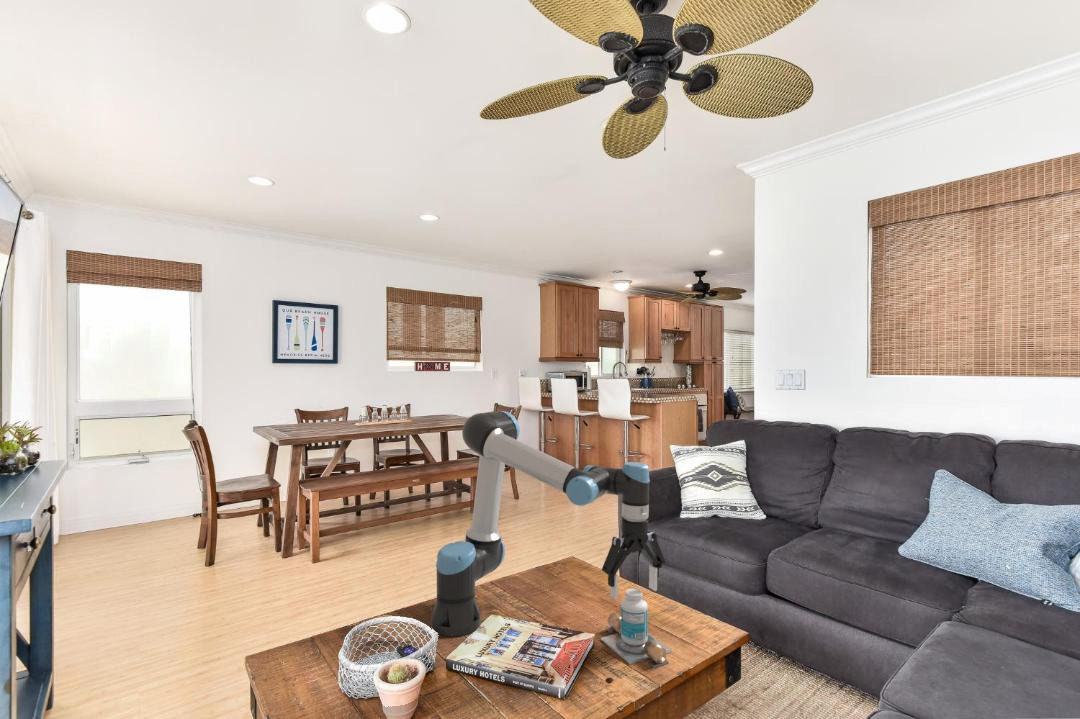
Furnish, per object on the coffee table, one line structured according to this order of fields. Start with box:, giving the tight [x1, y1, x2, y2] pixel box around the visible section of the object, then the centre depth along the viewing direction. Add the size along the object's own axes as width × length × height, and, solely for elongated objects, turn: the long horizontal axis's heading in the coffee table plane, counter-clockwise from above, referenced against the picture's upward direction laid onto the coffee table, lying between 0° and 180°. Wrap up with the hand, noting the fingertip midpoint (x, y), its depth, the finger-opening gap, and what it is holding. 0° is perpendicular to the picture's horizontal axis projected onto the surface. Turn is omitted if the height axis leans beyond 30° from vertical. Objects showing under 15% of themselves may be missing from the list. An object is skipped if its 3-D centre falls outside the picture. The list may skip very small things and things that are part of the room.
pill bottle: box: [620, 588, 649, 646], centre depth 147 cm, size 8×7×14 cm
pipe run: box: [600, 612, 672, 669], centre depth 147 cm, size 22×14×5 cm, turn 26°
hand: (633, 593), depth 147 cm, fingers open, 13 cm apart
